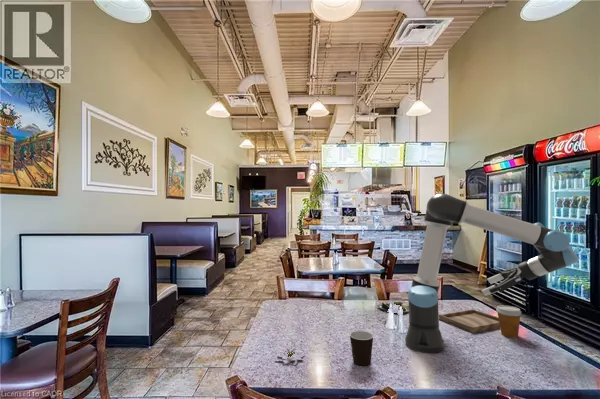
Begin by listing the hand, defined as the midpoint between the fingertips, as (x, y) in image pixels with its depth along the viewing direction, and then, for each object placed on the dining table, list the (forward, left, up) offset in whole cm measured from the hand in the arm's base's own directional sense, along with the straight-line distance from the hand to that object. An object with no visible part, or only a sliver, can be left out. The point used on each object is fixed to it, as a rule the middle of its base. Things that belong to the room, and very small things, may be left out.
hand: (486, 287), depth 144 cm
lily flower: (-94, +10, -21) cm, 96 cm away
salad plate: (-18, +45, -21) cm, 52 cm away
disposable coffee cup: (+5, -6, -21) cm, 22 cm away
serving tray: (+4, +12, -21) cm, 24 cm away
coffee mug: (-69, -2, -21) cm, 72 cm away
